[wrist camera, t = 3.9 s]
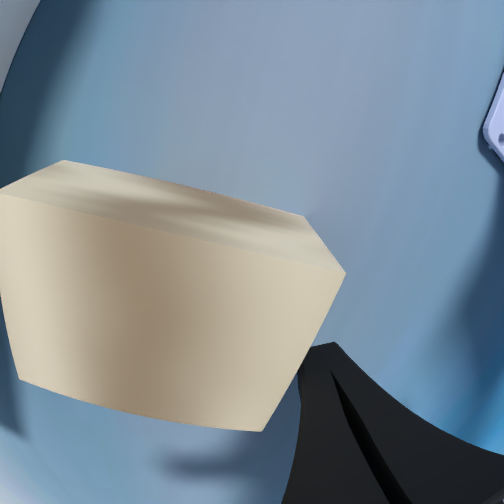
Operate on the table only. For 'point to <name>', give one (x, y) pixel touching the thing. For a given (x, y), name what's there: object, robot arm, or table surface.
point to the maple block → (159, 294)
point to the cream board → (13, 30)
